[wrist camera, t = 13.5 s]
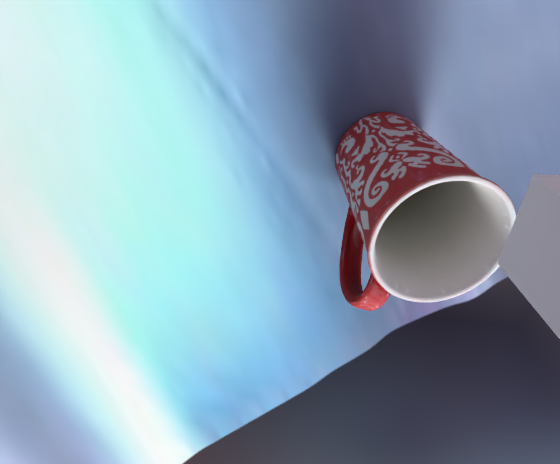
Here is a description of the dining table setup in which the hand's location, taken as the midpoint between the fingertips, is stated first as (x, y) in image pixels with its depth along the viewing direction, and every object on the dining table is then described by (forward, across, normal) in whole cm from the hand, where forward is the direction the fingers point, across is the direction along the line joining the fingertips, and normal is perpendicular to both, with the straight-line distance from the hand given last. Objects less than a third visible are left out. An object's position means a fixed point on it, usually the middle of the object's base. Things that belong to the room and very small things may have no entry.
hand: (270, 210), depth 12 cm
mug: (+27, +12, -11) cm, 31 cm away
